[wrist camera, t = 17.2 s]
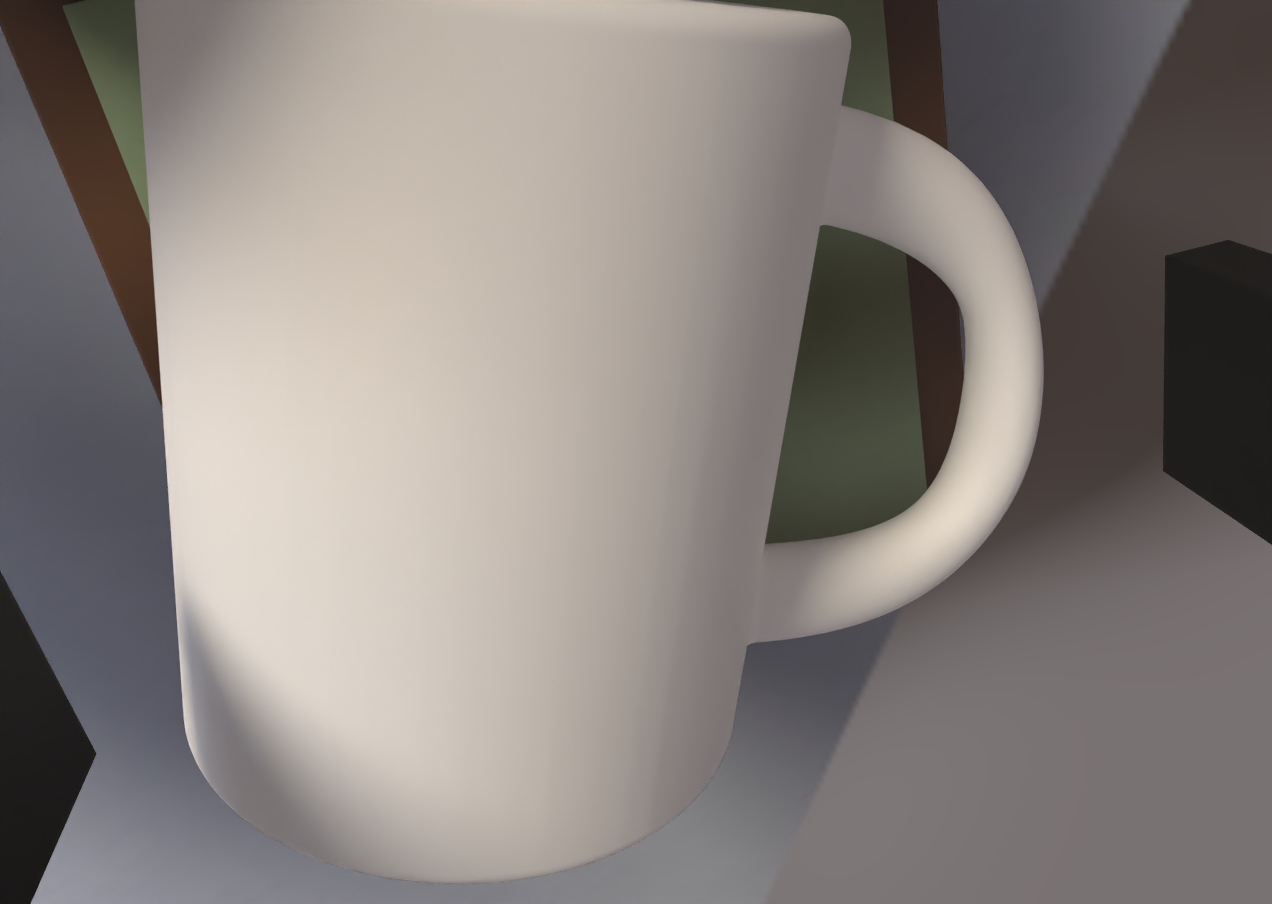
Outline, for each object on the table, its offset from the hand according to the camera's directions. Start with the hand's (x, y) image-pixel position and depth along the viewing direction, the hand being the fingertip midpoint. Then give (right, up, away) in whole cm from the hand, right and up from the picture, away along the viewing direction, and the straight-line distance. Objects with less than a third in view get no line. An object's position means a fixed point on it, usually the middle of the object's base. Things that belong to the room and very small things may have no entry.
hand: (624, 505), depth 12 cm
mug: (-1, +3, +7) cm, 7 cm away
